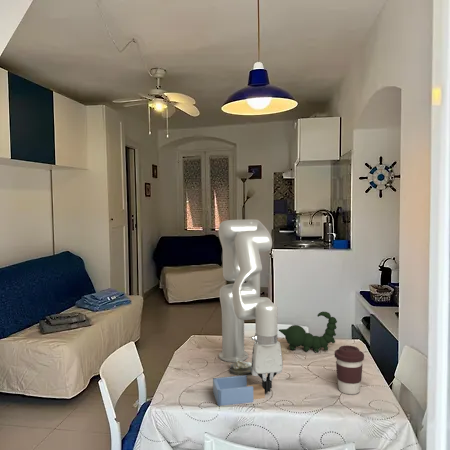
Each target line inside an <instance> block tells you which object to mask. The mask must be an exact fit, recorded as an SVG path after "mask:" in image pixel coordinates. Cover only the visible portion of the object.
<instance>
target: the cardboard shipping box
mask: <svg viewBox="0 0 450 450" xmlns="http://www.w3.org/2000/svg"><path fill="white" fill-rule="evenodd" d="M248 386H253V400H261V399H265V398H266V394H265V393H266V392H265V390H264V388H263V387H262V383H255V384H254V383H253V384H247V387H248Z"/></svg>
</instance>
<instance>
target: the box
mask: <svg viewBox="0 0 450 450" xmlns="http://www.w3.org/2000/svg"><path fill="white" fill-rule="evenodd" d="M247 380H248V377H247V376H246V375H233V376H224V377H215V378H214V377H213V378H212V393H213V396H214V399H215V401H216V405H217V406H218V407H219V406H220V407H221V406H229V405H238V404H248V403H254V399H253V386H248V387H247V385H248V381H247Z"/></svg>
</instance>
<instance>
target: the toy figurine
mask: <svg viewBox="0 0 450 450" xmlns="http://www.w3.org/2000/svg"><path fill="white" fill-rule="evenodd" d="M316 316H317V317H321V316H322V317H324V318H325V319H326V320H327V319H328V320H327V321H328V322H327V323H326V329H325V330H324V333H323V334H322V335H321V336H318V335H314V334H312V333H310V332H306V330H305V329H304V327H303V326H300V325H298V324H294V325H293V324H292V325H290V326H288V328H280V329H279V328H278V331H279V333H281V334H283V335H284V336H285V341H286V342H287V344H288V348H289V349H290V350H291V351H295V350H296V348H299V347H302V348H303V350H304V351H305V352H309V351H310V349H312V350H313V351H314V353H316V354H317V353H319V351H320V350H321V349H323V351H328V350H329V344H330V343H332V344H335V343H336V340H335V336H336V335H337V333H336V331H335V330H337V327H338V326H337V323H338V320H337V319H336V318H335V316H332V315H331V313H330V312H328V311H319V313H318V314H317V315H316Z"/></svg>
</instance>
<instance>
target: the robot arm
mask: <svg viewBox="0 0 450 450" xmlns="http://www.w3.org/2000/svg"><path fill="white" fill-rule="evenodd" d="M218 237H219V242H220V245H221V248H222V249H221V250H222V275H223V279H224V280H225V281H227V282H234V283H229V284H225V285H223V286H221V287H220V288H219V301H220V306H221V328H222V329H221V338H222V339H221V341H222V350H221V351H220V352H219V353H218V358H219V359H220V360H222V361H224V362H229V363H234V362H236V361H237V360H239V361H243V362H244V361H245V360H247V359H248V358H249V353H248V352H247V351H245V321H248V320H250V321H251V320H255V333H254V335H252V336H251V341H253V344H252V351H251V352H252V354H251V363H252V375H251V376H253V377H254V376H255V377H259V378H260V379H261V385H262V387H263V388H264V390H265V393H268V392H269V393H271V391H272V390H271V389H272V387H273V385H272V383H273V379H274V378H275V377H276V375H278V374H282V372H283V367H284V366H283V365H284V363H283V361H284V360H283V352H282V346H281V342H280V341H278V307H277V304H276V303H275V302H272V300H271V299H270V297H265V296H263V297H262V296H261V272H262V271H263V265H262V260H261V255H260V253H264V252H265V253H266V252H269V251H270V250H271V249H272V247H273V239H272V236H271V233H270V232H269V230H268V229H267V227H266V226H265V225H264V224H263V223H262V222H261V221H260V220H259V219H255V218H254V219H253V218H251V219H249V218H248V219H227V220H223V221H221V223H220V224H219V225H218ZM246 281H247V282H246Z"/></svg>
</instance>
